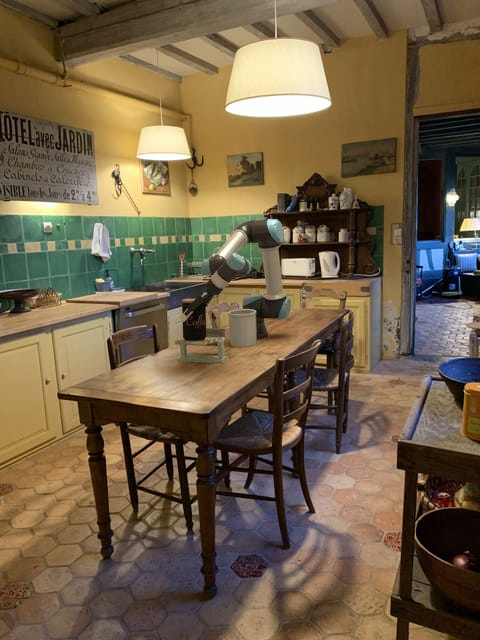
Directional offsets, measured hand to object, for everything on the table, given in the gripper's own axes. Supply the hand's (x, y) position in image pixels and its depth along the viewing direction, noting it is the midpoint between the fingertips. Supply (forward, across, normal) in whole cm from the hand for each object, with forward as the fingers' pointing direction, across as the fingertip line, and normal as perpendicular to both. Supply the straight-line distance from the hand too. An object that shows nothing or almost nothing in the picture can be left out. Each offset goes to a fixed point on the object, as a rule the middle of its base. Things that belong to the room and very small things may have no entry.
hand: (188, 316), depth 223 cm
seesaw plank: (+9, +7, -12) cm, 17 cm away
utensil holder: (+7, +40, -25) cm, 47 cm away
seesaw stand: (+14, +8, -17) cm, 24 cm away
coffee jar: (+6, 0, -9) cm, 11 cm away
